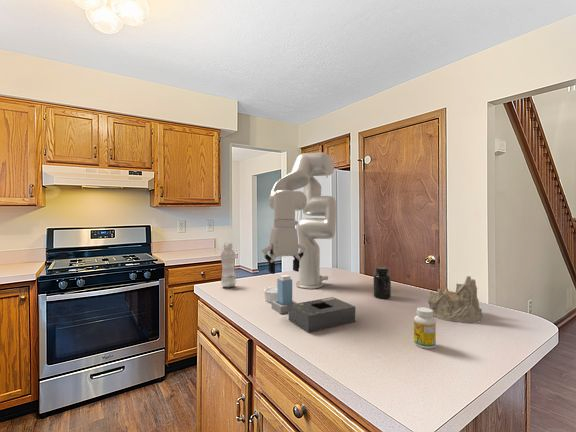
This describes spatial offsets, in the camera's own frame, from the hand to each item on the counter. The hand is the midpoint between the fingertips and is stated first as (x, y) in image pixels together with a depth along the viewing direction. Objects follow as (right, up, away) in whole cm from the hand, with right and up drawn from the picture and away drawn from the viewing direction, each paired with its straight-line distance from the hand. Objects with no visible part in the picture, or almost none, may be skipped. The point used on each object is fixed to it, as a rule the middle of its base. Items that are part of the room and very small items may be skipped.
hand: (284, 272), depth 113 cm
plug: (0, -14, +1) cm, 14 cm away
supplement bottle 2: (+38, -15, -28) cm, 50 cm away
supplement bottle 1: (+40, -13, +16) cm, 45 cm away
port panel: (+12, -14, -11) cm, 21 cm away
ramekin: (-4, -14, +12) cm, 19 cm away
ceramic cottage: (+59, -14, -5) cm, 61 cm away
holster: (0, -14, +1) cm, 14 cm away
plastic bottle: (-26, -13, +32) cm, 43 cm away
